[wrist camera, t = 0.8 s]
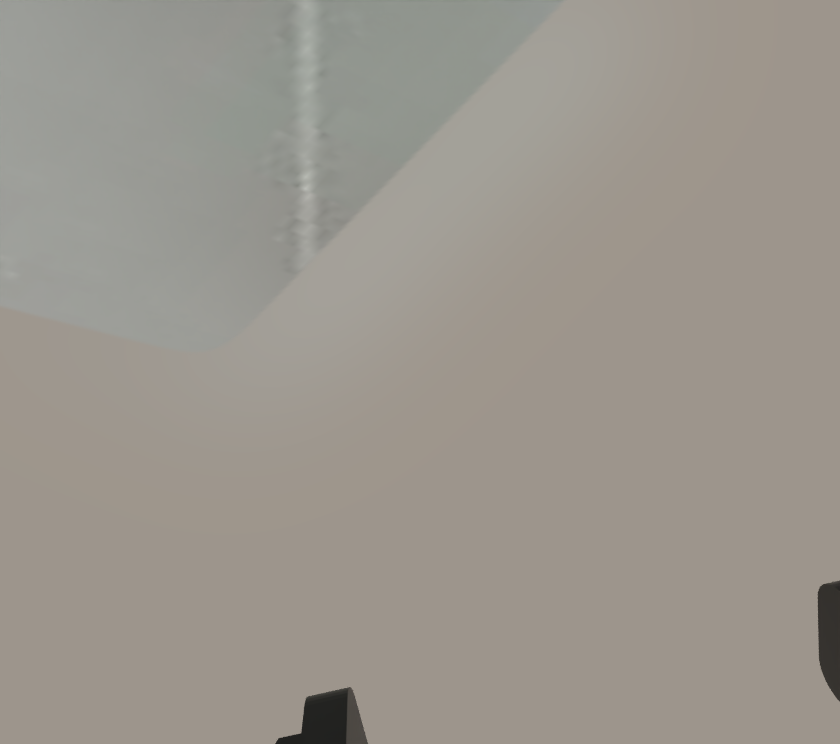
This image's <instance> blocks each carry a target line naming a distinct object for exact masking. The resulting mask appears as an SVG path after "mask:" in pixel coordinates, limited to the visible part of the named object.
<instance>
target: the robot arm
mask: <svg viewBox="0 0 840 744" xmlns="http://www.w3.org/2000/svg"><path fill="white" fill-rule="evenodd" d="M818 629H819V661H820V666H821V669H822V672H823V675H824V677H825V680H826V682H827V683H828V686H829V687H830V689H831V691H832V692H833V693H834V695H835V696H836V698H837V699H838V700H839V701H840V581H836V582H832V583H827V584H823V585H822V586H821V587H820V589H819V591H818ZM276 744H368V743H367V739H366V736H365V732H364V729H363V725H362V721H361V718H360V714H359V710H358V706H357V703H356V699H355V696H354V693H353V690H352V689H351V688H350V687H349V688H344V689H340V690H335V691H331V692H326V693H322V694H317V695H313V696H308V697H307V698H306V701H305V706H304V715H303V724H302V733H301V734H296V735H292V736H288V737H283V738H279V739H278V740H277V742H276Z"/></svg>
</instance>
